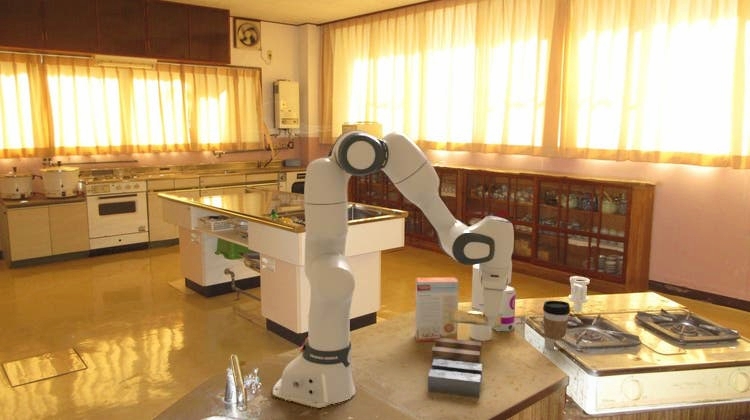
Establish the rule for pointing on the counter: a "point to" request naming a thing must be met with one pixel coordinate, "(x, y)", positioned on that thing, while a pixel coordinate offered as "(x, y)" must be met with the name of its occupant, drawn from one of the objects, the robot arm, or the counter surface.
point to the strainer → (578, 292)
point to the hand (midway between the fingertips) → (491, 322)
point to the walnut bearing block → (456, 350)
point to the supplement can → (507, 310)
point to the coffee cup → (555, 321)
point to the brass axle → (472, 317)
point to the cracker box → (435, 308)
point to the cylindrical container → (478, 308)
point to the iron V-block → (455, 378)
